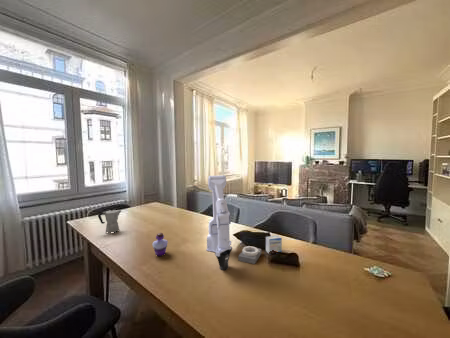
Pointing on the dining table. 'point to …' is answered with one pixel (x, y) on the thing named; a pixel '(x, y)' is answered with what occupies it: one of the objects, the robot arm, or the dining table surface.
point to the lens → (225, 263)
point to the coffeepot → (110, 220)
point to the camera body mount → (249, 254)
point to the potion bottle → (160, 245)
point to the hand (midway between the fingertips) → (223, 264)
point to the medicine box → (274, 243)
